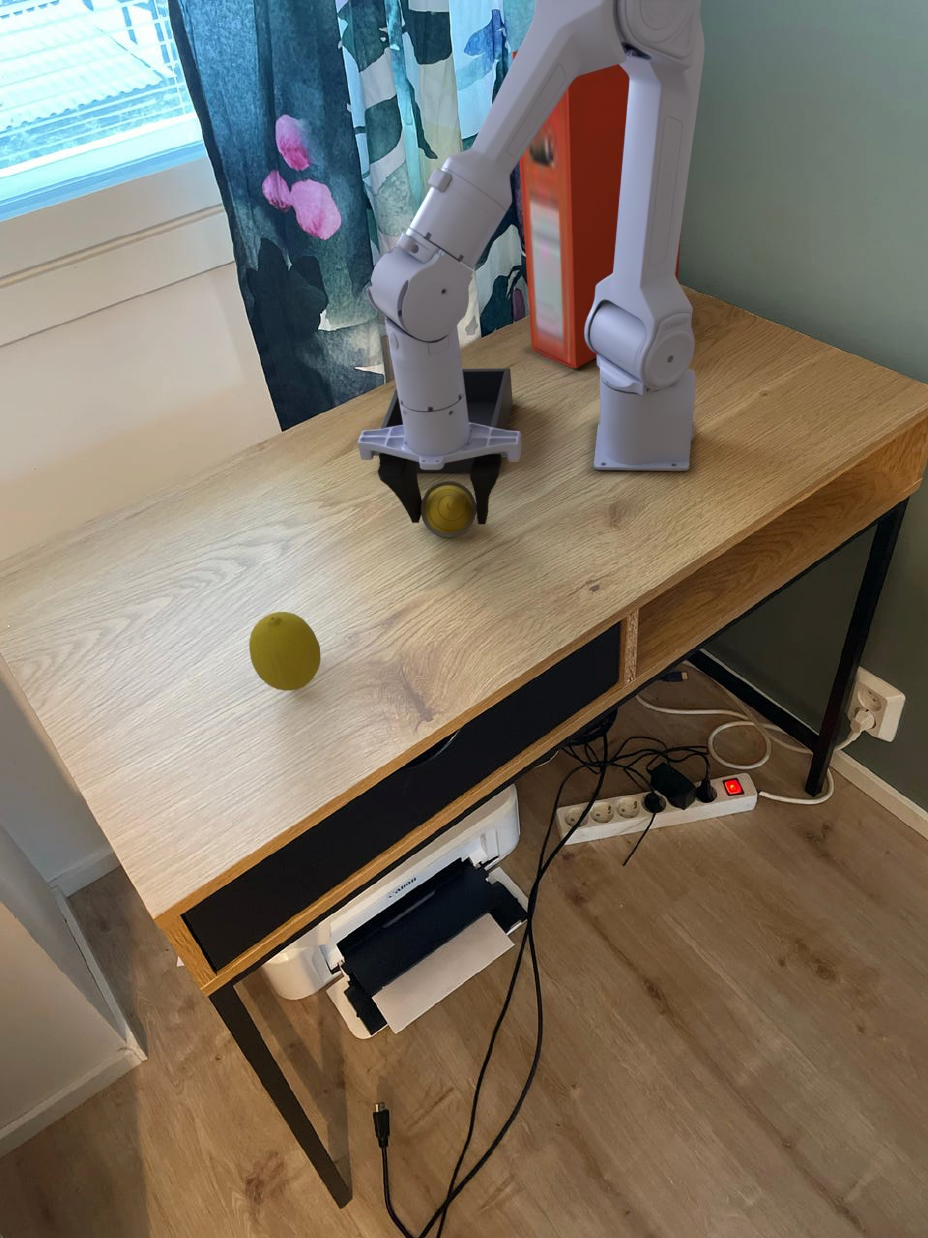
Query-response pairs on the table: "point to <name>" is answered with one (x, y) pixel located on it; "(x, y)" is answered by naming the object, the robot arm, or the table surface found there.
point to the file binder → (573, 210)
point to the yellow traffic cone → (448, 509)
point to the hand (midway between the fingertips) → (450, 517)
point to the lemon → (284, 651)
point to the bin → (471, 408)
